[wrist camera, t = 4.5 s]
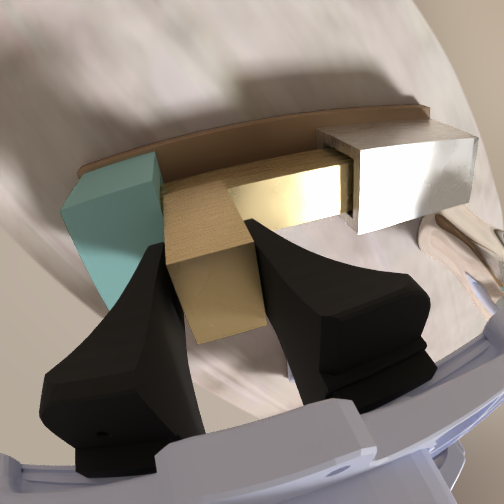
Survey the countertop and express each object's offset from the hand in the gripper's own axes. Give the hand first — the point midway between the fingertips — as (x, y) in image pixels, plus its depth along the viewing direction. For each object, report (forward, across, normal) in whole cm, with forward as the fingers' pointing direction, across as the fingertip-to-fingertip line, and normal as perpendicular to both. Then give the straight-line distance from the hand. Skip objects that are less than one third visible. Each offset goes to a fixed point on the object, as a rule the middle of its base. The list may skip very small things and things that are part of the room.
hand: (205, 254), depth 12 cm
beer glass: (+7, -20, +8) cm, 23 cm away
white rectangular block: (+6, -12, 0) cm, 13 cm away
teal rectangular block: (+6, +3, 0) cm, 7 cm away
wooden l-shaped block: (+5, -3, 0) cm, 6 cm away
